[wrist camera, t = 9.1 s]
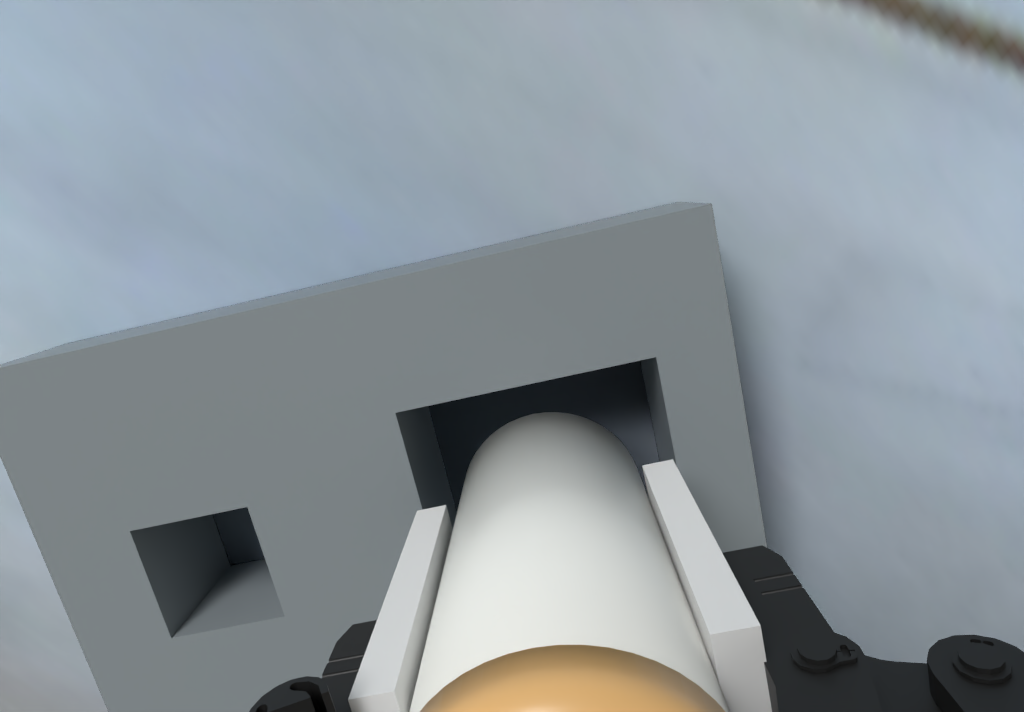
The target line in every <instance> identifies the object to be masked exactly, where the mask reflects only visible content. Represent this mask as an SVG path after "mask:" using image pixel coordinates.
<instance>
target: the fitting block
mask: <svg viewBox="0 0 1024 712" xmlns="http://www.w3.org/2000/svg"><path fill="white" fill-rule="evenodd" d="M636 361H640V363H641V368H642V373H643V378H644V383H645V388H646V394H647V399H648V404H649V409H650V414H651V419H652V425H653V430H654V435H655V440H656V445H657V450H658V456H659V461H660V462H662V461H667V460H672V459H673V460H674V462H675V464H676V466H677V468H678V470H679V472H680V474H681V476H682V477H683V479H684V481H685V483H686V485H687V487H688V489H689V491H690V493H691V495H692V496H693V498H694V500H695V502H696V504H697V506H698V508H699V510H700V512H701V514H702V515H703V517H704V519H705V521H706V523H707V525H708V527H709V529H710V531H711V532H712V534H713V536H714V538H715V540H716V542H717V544H718V546H719V548H720V550H721V551H722V553H724V552H729V551H734V550H740V549H745V548H750V547H756V546H761V545H763V546H765V547H766V548H767V544H766V537H765V531H764V525H763V519H762V512H761V506H760V500H759V494H758V488H757V481H756V475H755V469H754V463H753V456H752V450H751V444H750V438H749V432H748V425H747V419H746V413H745V407H744V401H743V394H742V388H741V382H740V376H739V369H738V363H737V357H736V351H735V345H734V338H733V332H732V326H731V320H730V313H729V307H728V301H727V295H726V289H725V282H724V276H723V270H722V264H721V258H720V251H719V245H718V239H717V233H716V226H715V220H714V214H713V208H712V204H709V203H688V202H676V203H671V204H667V205H663V206H658V207H654V208H650V209H645V210H641V211H637V212H632V213H628V214H624V215H619V216H615V217H611V218H607V219H602V220H598V221H594V222H589V223H585V224H581V225H576V226H572V227H568V228H563V229H559V230H555V231H550V232H546V233H542V234H537V235H533V236H529V237H525V238H520V239H516V240H512V241H507V242H503V243H499V244H494V245H490V246H486V247H481V248H477V249H473V250H468V251H464V252H460V253H455V254H451V255H447V256H442V257H438V258H434V259H430V260H425V261H421V262H417V263H412V264H408V265H404V266H399V267H395V268H391V269H386V270H382V271H378V272H373V273H369V274H365V275H360V276H356V277H352V278H348V279H343V280H339V281H335V282H330V283H326V284H322V285H317V286H313V287H309V288H304V289H300V290H296V291H291V292H287V293H283V294H278V295H274V296H270V297H265V298H261V299H257V300H253V301H248V302H244V303H240V304H235V305H231V306H227V307H222V308H218V309H214V310H209V311H205V312H201V313H196V314H192V315H188V316H183V317H179V318H175V319H171V320H166V321H162V322H158V323H153V324H149V325H145V326H140V327H136V328H132V329H127V330H123V331H119V332H114V333H110V334H106V335H101V336H97V337H93V338H89V339H84V340H80V341H76V342H71V343H67V344H63V345H60V346H57V347H54V348H51V349H48V350H45V351H42V352H38V353H35V354H32V355H29V356H26V357H23V358H20V359H16V360H13V361H10V362H7V363H4V364H1V365H0V457H1V459H2V462H3V464H4V466H5V469H6V471H7V473H8V476H9V478H10V480H11V483H12V485H13V488H14V490H15V492H16V495H17V497H18V499H19V502H20V504H21V506H22V509H23V511H24V513H25V516H26V518H27V521H28V523H29V525H30V528H31V530H32V532H33V535H34V537H35V539H36V542H37V544H38V547H39V549H40V551H41V554H42V556H43V558H44V561H45V563H46V565H47V568H48V570H49V573H50V575H51V577H52V580H53V582H54V584H55V587H56V589H57V591H58V594H59V596H60V599H61V601H62V603H63V606H64V608H65V610H66V613H67V615H68V617H69V620H70V622H71V624H72V627H73V629H74V632H75V634H76V636H77V639H78V641H79V643H80V646H81V648H82V650H83V653H84V655H85V658H86V660H87V662H88V665H89V667H90V669H91V672H92V674H93V676H94V679H95V681H96V684H97V686H98V688H99V691H100V693H101V695H102V698H103V700H104V702H105V705H106V707H107V709H108V712H249V711H250V709H251V708H252V707H253V706H254V704H255V703H256V702H257V701H258V700H259V699H260V698H261V697H262V696H263V695H265V694H266V693H267V692H269V691H270V690H272V689H273V688H275V687H276V686H278V685H280V684H283V683H285V682H287V681H289V680H291V679H296V678H300V677H305V676H310V677H319V678H322V674H323V671H324V669H325V667H326V665H327V663H329V658H330V655H331V653H332V651H333V649H334V646H335V644H336V642H337V641H338V640H339V639H340V638H341V636H342V635H343V634H344V633H345V632H346V631H347V630H348V629H349V628H350V627H351V626H352V625H353V624H358V623H363V622H368V621H374V620H377V619H378V616H379V613H380V611H381V608H382V605H383V602H384V600H385V597H386V594H387V591H388V589H389V586H390V583H391V580H392V578H393V575H394V572H395V570H396V567H397V564H398V561H399V559H400V556H401V553H402V550H403V548H404V545H405V542H406V539H407V537H408V534H409V531H410V528H411V526H412V523H413V520H414V518H415V515H416V512H417V511H418V510H423V509H428V508H433V507H438V506H443V505H446V506H447V510H448V514H449V517H450V521H451V525H452V528H453V527H454V523H455V519H456V515H457V511H456V508H455V504H454V500H453V496H452V493H451V489H450V485H449V482H448V478H447V474H446V471H445V467H444V463H443V459H442V456H441V452H440V448H439V445H438V441H437V437H436V433H435V430H434V426H433V422H432V419H431V415H430V411H429V407H428V406H430V405H435V404H439V403H444V402H449V401H453V400H458V399H463V398H467V397H472V396H477V395H482V394H486V393H491V392H496V391H500V390H505V389H510V388H514V387H519V386H524V385H528V384H533V383H538V382H542V381H547V380H552V379H556V378H561V377H566V376H570V375H575V374H580V373H584V372H589V371H594V370H598V369H603V368H608V367H612V366H617V365H622V364H626V363H631V362H636ZM245 507H247V508H248V511H249V514H250V517H251V520H252V522H253V525H254V528H255V531H256V534H257V537H258V540H259V543H260V546H261V549H262V552H263V555H264V557H265V559H262V560H257V561H252V562H247V563H242V564H236V565H231V566H230V563H229V560H228V558H227V555H226V552H225V549H224V546H223V544H222V541H221V538H220V535H219V532H218V529H217V527H216V524H215V521H214V518H213V515H212V514H216V513H221V512H225V511H230V510H235V509H240V508H245Z"/></svg>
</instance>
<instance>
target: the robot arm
mask: <svg viewBox="0 0 1024 712" xmlns="http://www.w3.org/2000/svg"><path fill="white" fill-rule="evenodd" d="M642 467H643V472H644V477H645V482H646V488H647V493H648V498H649V501H650V504H651V506H652V509H653V512H654V514H655V517H656V519H657V522H658V525H659V527H660V530H661V533H662V535H663V538H664V540H665V543H666V546H667V548H668V551H669V554H670V556H671V559H672V561H673V564H674V567H675V569H676V572H677V575H678V577H679V580H680V582H681V585H682V588H683V590H684V593H685V596H686V598H687V601H688V604H689V606H690V609H691V611H692V614H693V617H694V619H695V622H696V625H697V627H698V630H699V632H700V635H701V638H702V640H703V643H704V646H705V648H706V651H707V653H708V656H709V659H710V661H711V664H712V667H713V669H714V672H715V674H716V677H717V680H718V682H719V685H720V687H721V689H722V692H723V694H724V697H725V699H726V702H727V705H728V707H729V710H730V712H1024V652H1023V651H1021V650H1020V649H1018V648H1017V647H1015V646H1013V645H1010V644H1008V643H1005V642H1003V641H1000V640H998V639H995V638H989V637H983V636H978V635H956V636H951V637H948V638H945V639H942V640H939V641H937V642H936V643H935V644H934V645H933V646H932V647H931V648H930V649H929V652H928V657H927V664H925V663H907V662H893V661H885V660H879V659H876V658H872V657H869V656H865V655H864V653H863V652H862V650H861V649H860V647H859V646H858V645H857V644H855V643H854V642H853V641H851V640H850V639H848V638H847V637H845V636H842V635H839V634H837V633H834V632H833V630H832V629H831V627H830V626H829V624H828V623H827V621H826V620H825V619H824V617H823V616H822V614H821V613H820V611H819V610H818V608H817V607H816V605H815V604H814V603H813V601H812V600H811V598H810V597H809V595H808V594H807V592H806V591H805V589H804V588H802V586H801V584H800V582H799V581H798V579H797V578H796V576H795V575H793V572H792V571H791V569H790V568H789V566H788V565H787V563H786V562H785V560H784V559H783V557H782V556H780V555H778V554H777V553H775V552H773V551H771V550H770V549H768V548H766V547H765V546H763V545H761V546H756V547H750V548H745V549H740V550H734V551H729V552H724V553H722V551H721V550H720V548H719V546H718V544H717V542H716V540H715V538H714V536H713V534H712V532H711V531H710V529H709V527H708V525H707V523H706V521H705V519H704V517H703V515H702V514H701V512H700V510H699V508H698V506H697V504H696V502H695V500H694V498H693V496H692V495H691V493H690V491H689V489H688V487H687V485H686V483H685V481H684V479H683V477H682V476H681V474H680V472H679V470H678V468H677V466H676V464H675V462H674V460H673V459H672V460H667V461H662V462H657V463H652V464H647V465H642ZM452 531H453V528H452V525H451V521H450V517H449V514H448V510H447V506H446V505H443V506H438V507H433V508H428V509H423V510H418V511H417V512H416V515H415V518H414V520H413V523H412V526H411V528H410V531H409V534H408V537H407V539H406V542H405V545H404V548H403V550H402V553H401V556H400V559H399V561H398V564H397V567H396V570H395V572H394V575H393V578H392V580H391V583H390V586H389V589H388V591H387V594H386V597H385V600H384V602H383V605H382V608H381V611H380V613H379V616H378V619H377V620H374V621H368V622H363V623H358V624H353V625H352V626H351V627H350V628H349V629H348V630H347V631H346V632H345V633H344V634H343V635H342V636H341V638H340V639H339V640H338V641H337V642H336V644H335V646H334V649H333V651H332V653H331V655H330V658H329V663H327V665H326V667H325V669H324V671H323V674H322V678H319V677H310V676H305V677H300V678H296V679H291V680H289V681H287V682H285V683H283V684H280V685H278V686H276V687H275V688H273V689H272V690H270V691H269V692H267V693H266V694H265V695H263V696H262V697H261V698H260V699H259V700H258V701H257V702H256V703H255V704H254V706H253V707H252V708H251V709H250V711H249V712H410V707H411V703H412V699H413V695H414V691H415V686H416V682H417V678H418V674H419V670H420V666H421V661H422V657H423V653H424V649H425V645H426V640H427V636H428V632H429V628H430V624H431V619H432V615H433V611H434V607H435V603H436V598H437V594H438V590H439V586H440V582H441V577H442V573H443V569H444V565H445V561H446V556H447V552H448V548H449V544H450V540H451V535H452Z"/></svg>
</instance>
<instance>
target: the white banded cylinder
mask: <svg viewBox="0 0 1024 712" xmlns="http://www.w3.org/2000/svg"><path fill="white" fill-rule="evenodd" d="M410 712H730V710H729V707H728V705H727V702H726V699H725V697H724V694H723V692H722V689H721V687H720V685H719V682H718V680H717V677H716V674H715V672H714V669H713V667H712V664H711V661H710V659H709V656H708V653H707V651H706V648H705V646H704V643H703V640H702V638H701V635H700V632H699V630H698V627H697V625H696V622H695V619H694V617H693V614H692V611H691V609H690V606H689V604H688V601H687V598H686V596H685V593H684V590H683V588H682V585H681V582H680V580H679V577H678V575H677V572H676V569H675V567H674V564H673V561H672V559H671V556H670V554H669V551H668V548H667V546H666V543H665V540H664V538H663V535H662V533H661V530H660V527H659V525H658V522H657V519H656V517H655V514H654V512H653V509H652V506H651V504H650V501H649V498H648V495H647V493H646V490H645V487H644V485H643V482H642V479H641V477H640V474H639V472H638V469H637V467H636V464H635V462H634V460H633V458H632V456H631V455H630V453H629V451H628V450H627V448H626V447H625V446H624V445H623V443H622V442H621V441H620V440H619V439H618V438H617V437H616V436H615V435H614V434H613V433H612V432H610V431H609V430H607V429H606V428H604V427H603V426H602V425H600V424H598V423H596V422H594V421H592V420H590V419H587V418H584V417H582V416H578V415H574V414H570V413H561V412H543V413H536V414H531V415H527V416H524V417H520V418H518V419H516V420H513V421H511V422H509V423H507V424H506V425H504V426H502V427H500V428H499V429H498V430H496V431H495V432H494V433H493V434H491V435H490V436H489V437H488V438H487V439H486V440H485V441H484V442H483V443H482V445H481V446H480V447H479V449H478V450H477V451H476V453H475V455H474V456H473V458H472V460H471V462H470V465H469V467H468V470H467V473H466V477H465V481H464V485H463V489H462V494H461V498H460V502H459V506H458V510H457V515H456V519H455V523H454V527H453V531H452V535H451V540H450V544H449V548H448V552H447V556H446V561H445V565H444V569H443V573H442V577H441V582H440V586H439V590H438V594H437V598H436V603H435V607H434V611H433V615H432V619H431V624H430V628H429V632H428V636H427V640H426V645H425V649H424V653H423V657H422V661H421V666H420V670H419V674H418V678H417V682H416V686H415V691H414V695H413V699H412V703H411V707H410Z"/></svg>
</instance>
